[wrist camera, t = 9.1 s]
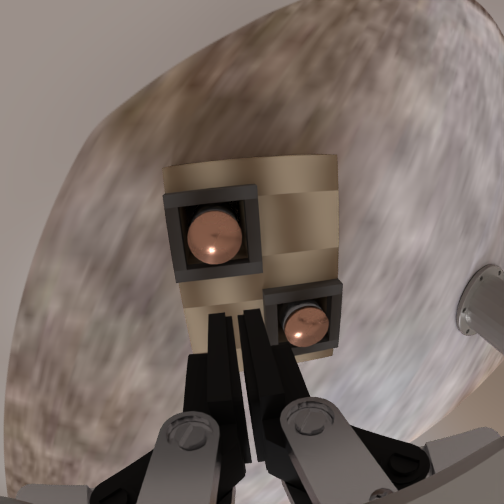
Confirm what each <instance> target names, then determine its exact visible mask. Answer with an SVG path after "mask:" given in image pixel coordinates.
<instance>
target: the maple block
mask: <svg viewBox="0 0 504 504" xmlns="http://www.w3.org/2000/svg"><path fill="white" fill-rule="evenodd" d="M162 171H163V180H164V189H165V194H164V195H163V201H164V209H165V216H166V223H167V230H168V237H169V243H170V250H171V256H172V262H173V268H174V273H175V279H176V283H179V288H180V293H181V298H182V303H183V308H184V313H185V318H186V323H187V328H188V333H189V337H190V342H191V346H192V351H193V354H201V353H207V352H208V314H213V313H223V312H225V315H226V316H232V320H233V328H234V336H235V344H236V351H237V359H238V366H239V372H241V371H244V368H243V360H242V352H241V343H240V335H239V326H238V318H237V315H243V310H249V309H258V308H260V311H261V314H262V318H263V321H264V324H265V328H266V331H267V335H268V338H269V342H270V345H271V346H272V345H279V344H286V343H289V344H290V346H291V349H292V351H293V354H294V356H295V359H296V361H297V363H298V362H304V361H309V360H314V359H319V358H323V357H328V356H332V355H333V348H337V347H338V342H339V331H340V319H341V305H342V289H343V283H342V282H341V281H340V280H339V279H338V248H339V195H338V162H337V155H330V154H304V155H281V156H264V157H250V158H237V159H226V160H216V161H206V162H198V163H189V164H181V165H174V166H168V167H165V168H162ZM236 200H238V204H239V216H240V227H241V233H242V243H241V246H240V249H239V251H238V252H237V254H236V255H235V256H234V257H233V258H232V259H230V260H229V261H227V262H224V263H221V264H208V263H205V262H202V261H200V260H199V259H198V258H196V257H195V256H194V255H193V253H192V252H191V250H190V248H189V245H188V239H187V237H188V231H189V229H188V221H187V213H186V206H191V205H199V204H208V203H217V202H226V201H236ZM307 299H315V300H316V302H317V303H318V305H319V306H320V307H321V309H322V310H323V312H324V313H325V315H326V316H327V318H328V322H329V326H328V330H327V332H326V334H325V336H324V337H323V338H322V339H321V340H320V341H318V342H317V343H315V344H313V345H311V346H307V347H298V346H295V345H293V344H291V343H290V342H289V341H288V339H287V337H286V335H285V333H284V330H283V328H282V326H281V323H280V321H279V319H278V316H277V304H281V303H288V302H294V301H301V300H307Z"/></svg>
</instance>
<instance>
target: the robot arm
mask: <svg viewBox="0 0 504 504" xmlns="http://www.w3.org/2000/svg"><path fill="white" fill-rule="evenodd" d="M237 318H238V326H239V335H240V343H241V352H242V360H243V368H244V376H245V383H246V390H247V397H248V403H249V410H250V416H251V423H252V429H253V435H254V442H255V448H256V454H257V460H258V462H262V461H265V464H266V469H267V470H268V473H270V474H272V475H273V476H275V477H277V478H279V479H281V481H282V485H283V487H284V489H285V492H286V494H287V496H288V498H289V501H290V503H291V504H504V436H502V437H501V436H500V435H499V434H498V432H496V431H495V430H493V429H491V428H487V427H481V428H477V429H474V430H471V431H467V432H464V433H461V434H458V435H454V436H450V437H446V438H442V439H438V440H434V441H430V442H426V444H425V446H421V447H418V446H415V445H413V444H410V443H407V442H403V441H399V440H396V439H392V438H389V437H386V436H382V435H379V434H376V433H373V432H369V431H366V430H363V429H360V428H357V427H354V426H351V425H350V424H349V423H348V422H347V420H346V419H345V417H344V416H343V415H342V413H341V412H340V410H339V409H338V408H337V407H336V406H335V405H334V404H333V403H332V402H330V401H328V400H326V399H322V398H318V397H310V395H309V392H308V390H307V387H306V385H305V382H304V380H303V377H302V374H301V372H300V369H299V367H298V364H297V361H296V359H295V356H294V354H293V351H292V349H291V346H290V344H289V343H286V344H279V345H272V346H271V345H270V342H269V338H268V335H267V331H266V328H265V324H264V321H263V318H262V314H261V311H260V308H258V309H249V310H243V315H237ZM456 323H457V327H458V329H459V331H460V332H461V333H462V334H464V335H466V336H471V335H474V334H479V335H480V336H481V337H482V338H484V339H485V340H486V341H487V342H488V343H490V344H491V345H492V346H493V347H494V348H496V349H497V350H498V351H499V352H500V353H502V354H503V355H504V272H503V270H502V269H501V268H500V267H498V266H496V265H493V264H490V265H487V266H485V267H483V268H482V269H481V270H479V271H478V272H477V273H476V274H475V275H474V277H473V278H472V279H471V281H470V282H469V284H468V285H467V287H466V289H465V291H464V293H463V295H462V297H461V300H460V302H459V306H458V309H457V315H456ZM245 463H252V460H251V453H250V446H249V439H248V432H247V425H246V418H245V411H244V404H243V396H242V389H241V381H240V374H239V366H238V359H237V351H236V344H235V336H234V328H233V320H232V316H226V315H225V312H223V313H213V314H208V352H207V353H201V354H189V356H188V363H187V373H186V384H185V395H184V407H183V413H179V414H176V415H174V416H172V417H170V418H169V419H168V420H167V421H166V422H165V423H164V424H163V426H162V427H161V429H160V432H159V435H158V438H157V441H156V444H155V447H154V449H153V450H152V451H150V452H149V453H147V454H146V455H144V456H143V457H141V458H140V459H138V460H137V461H135V462H134V463H132V464H131V465H129V466H127V467H126V468H124V469H123V470H121V471H120V472H118V473H116V474H115V475H113V476H112V477H110V478H108V479H107V480H105V481H103V482H102V483H100V484H99V485H98V486H97V487H95V488H89V487H88V486H87V485H44V484H27V485H25V486H23V487H21V489H20V490H19V491H18V492H17V496H16V499H13V498H8V497H2V496H0V504H235V494H236V487H235V485H236V484H237V483H238V482H239V481H241V480H242V479H243V478H244V477H245V473H246V469H245Z"/></svg>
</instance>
